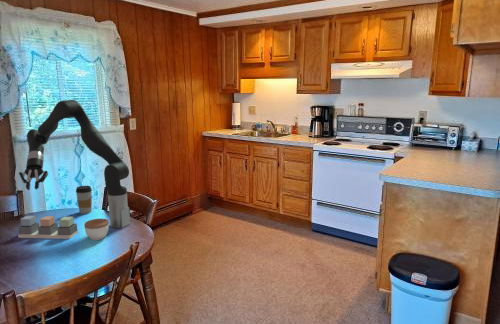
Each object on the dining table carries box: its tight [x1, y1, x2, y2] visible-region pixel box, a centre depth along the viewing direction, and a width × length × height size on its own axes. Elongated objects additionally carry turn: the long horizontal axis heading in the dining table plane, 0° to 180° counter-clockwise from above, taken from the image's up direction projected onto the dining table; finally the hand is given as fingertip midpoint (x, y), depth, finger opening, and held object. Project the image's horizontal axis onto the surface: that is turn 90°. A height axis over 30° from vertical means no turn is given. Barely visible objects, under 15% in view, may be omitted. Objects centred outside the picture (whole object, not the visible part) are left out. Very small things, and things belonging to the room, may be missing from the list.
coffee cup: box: [75, 185, 93, 215], centre depth 204 cm, size 8×8×15 cm
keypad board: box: [17, 222, 79, 240], centre depth 172 cm, size 25×8×5 cm, turn 88°
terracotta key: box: [39, 215, 56, 227], centre depth 171 cm, size 4×4×4 cm
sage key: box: [59, 216, 75, 227], centre depth 171 cm, size 4×4×4 cm
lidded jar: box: [84, 218, 110, 241], centre depth 169 cm, size 11×11×9 cm
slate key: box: [20, 215, 37, 226], centre depth 172 cm, size 4×4×4 cm
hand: (32, 188), depth 181 cm, fingers open, 3 cm apart
